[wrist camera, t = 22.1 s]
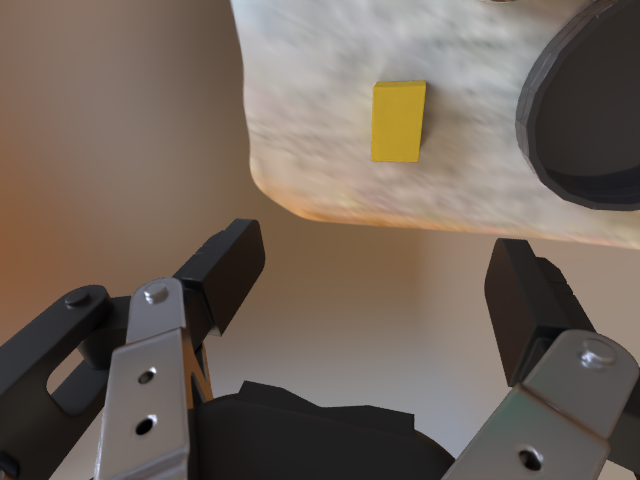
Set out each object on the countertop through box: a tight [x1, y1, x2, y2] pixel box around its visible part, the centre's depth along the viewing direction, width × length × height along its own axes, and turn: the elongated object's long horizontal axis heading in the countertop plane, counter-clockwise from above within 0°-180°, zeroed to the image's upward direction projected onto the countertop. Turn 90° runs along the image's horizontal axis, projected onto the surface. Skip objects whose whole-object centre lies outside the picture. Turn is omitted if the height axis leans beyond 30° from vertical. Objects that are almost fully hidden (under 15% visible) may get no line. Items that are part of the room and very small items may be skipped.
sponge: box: [371, 80, 426, 162], centre depth 28 cm, size 6×4×3 cm, turn 4°
